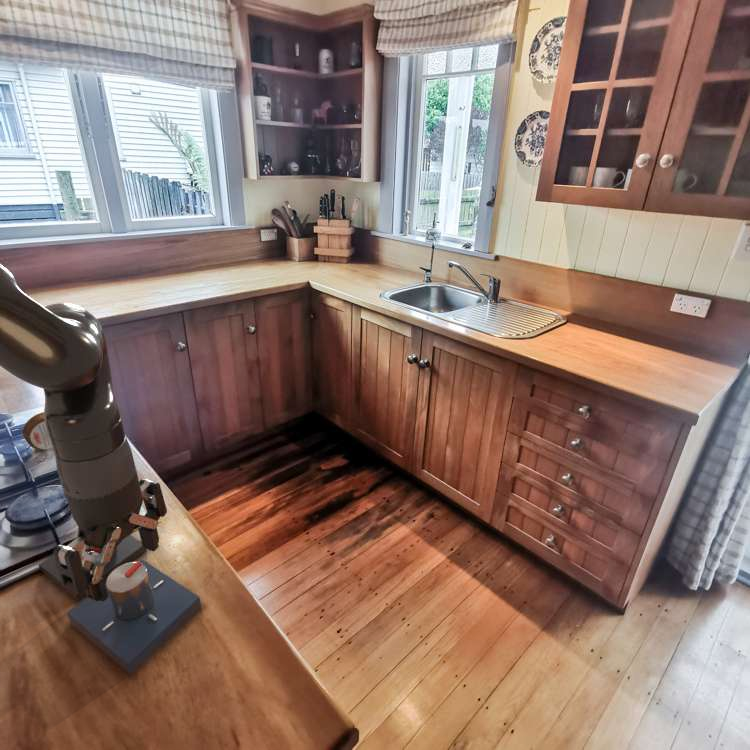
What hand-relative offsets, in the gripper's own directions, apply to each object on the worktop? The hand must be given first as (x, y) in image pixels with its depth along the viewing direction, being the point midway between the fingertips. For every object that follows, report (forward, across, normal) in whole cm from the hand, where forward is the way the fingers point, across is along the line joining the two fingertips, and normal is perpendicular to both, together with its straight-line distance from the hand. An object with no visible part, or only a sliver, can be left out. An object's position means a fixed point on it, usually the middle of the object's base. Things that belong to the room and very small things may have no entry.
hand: (127, 571), depth 62 cm
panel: (+9, -1, 0) cm, 9 cm away
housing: (+9, +4, +13) cm, 16 cm away
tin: (+10, +27, +45) cm, 54 cm away
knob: (+6, -1, 0) cm, 6 cm away
